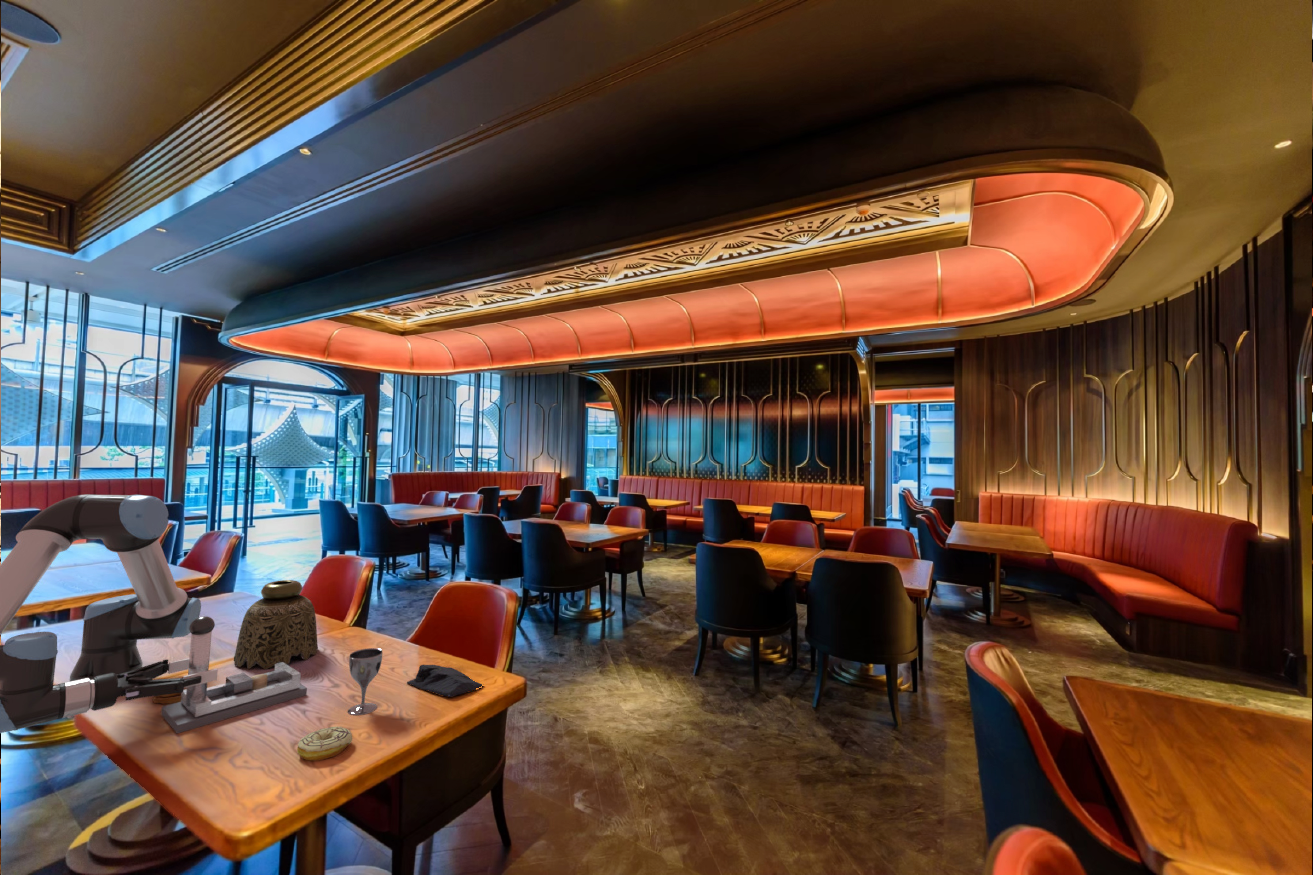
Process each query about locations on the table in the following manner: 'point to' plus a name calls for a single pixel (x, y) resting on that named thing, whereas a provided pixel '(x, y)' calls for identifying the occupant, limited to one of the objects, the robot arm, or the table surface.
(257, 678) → the nut
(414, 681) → the black crumpled cloth
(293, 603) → the lamp shade
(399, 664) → the table surface
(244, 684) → the grey rectangular block
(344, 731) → the decorated donut
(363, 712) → the wine glass
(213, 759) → the table surface
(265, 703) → the press bench
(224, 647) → the table surface
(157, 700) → the burger
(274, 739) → the table surface
